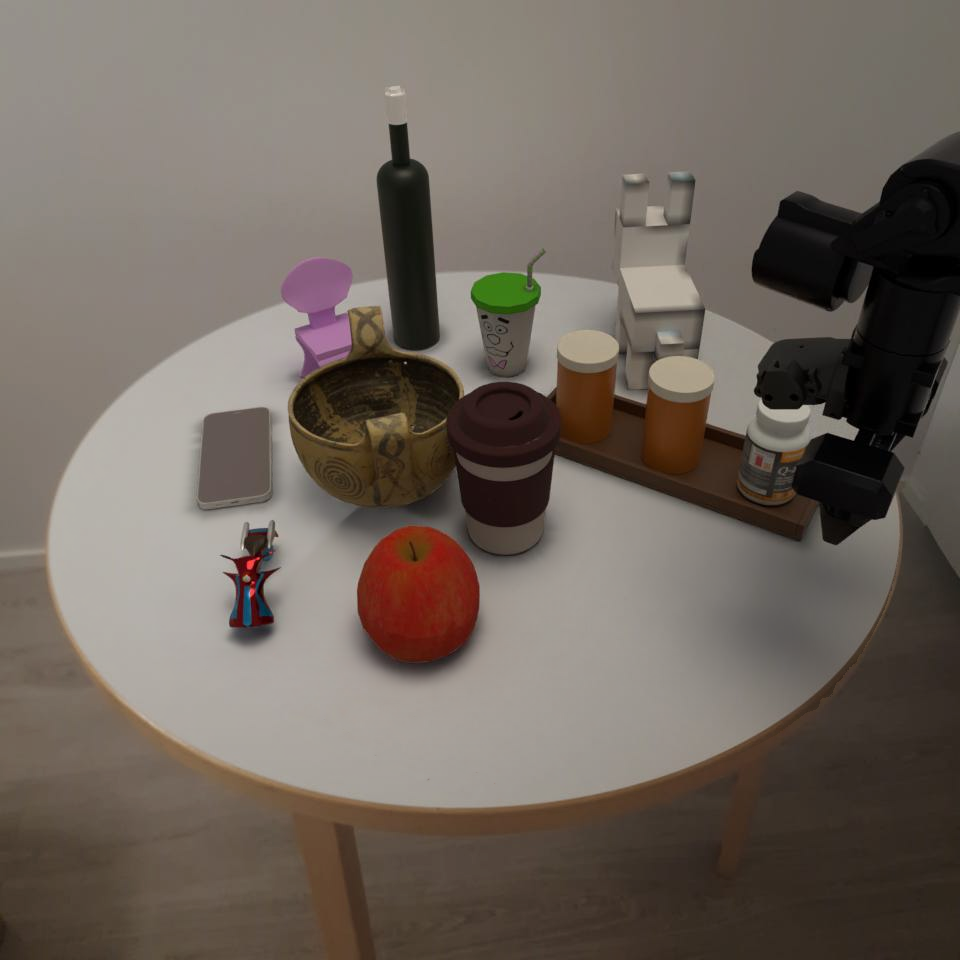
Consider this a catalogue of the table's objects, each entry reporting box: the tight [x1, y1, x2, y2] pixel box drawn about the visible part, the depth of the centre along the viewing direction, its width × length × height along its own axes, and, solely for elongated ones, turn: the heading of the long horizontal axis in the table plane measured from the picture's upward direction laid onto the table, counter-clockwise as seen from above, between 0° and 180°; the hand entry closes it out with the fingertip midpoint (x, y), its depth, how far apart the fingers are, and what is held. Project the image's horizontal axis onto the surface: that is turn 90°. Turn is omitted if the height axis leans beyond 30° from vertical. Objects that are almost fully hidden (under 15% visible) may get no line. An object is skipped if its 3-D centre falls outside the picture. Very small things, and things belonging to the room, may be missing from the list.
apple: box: [356, 524, 481, 664], centre depth 75 cm, size 10×10×10 cm
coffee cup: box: [446, 381, 562, 556], centre depth 82 cm, size 10×10×15 cm
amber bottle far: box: [556, 329, 620, 444], centre depth 95 cm, size 6×6×10 cm
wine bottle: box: [375, 84, 441, 351], centre depth 103 cm, size 6×6×30 cm
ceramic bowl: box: [287, 305, 465, 509], centre depth 88 cm, size 22×17×15 cm
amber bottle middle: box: [641, 356, 716, 474], centre depth 90 cm, size 6×6×10 cm
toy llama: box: [611, 170, 706, 391], centre depth 102 cm, size 8×18×20 cm, turn 3°
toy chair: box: [280, 256, 354, 378], centre depth 101 cm, size 8×9×15 cm
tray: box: [546, 386, 819, 542], centre depth 93 cm, size 30×10×2 cm, turn 58°
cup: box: [470, 248, 546, 378], centre depth 103 cm, size 8×8×15 cm
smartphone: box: [196, 406, 273, 510], centre depth 96 cm, size 7×1×15 cm
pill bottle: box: [737, 397, 811, 505], centre depth 86 cm, size 6×6×10 cm
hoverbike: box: [219, 519, 282, 629], centre depth 80 cm, size 5×12×6 cm, turn 5°
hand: (846, 505), depth 71 cm, fingers open, 9 cm apart
